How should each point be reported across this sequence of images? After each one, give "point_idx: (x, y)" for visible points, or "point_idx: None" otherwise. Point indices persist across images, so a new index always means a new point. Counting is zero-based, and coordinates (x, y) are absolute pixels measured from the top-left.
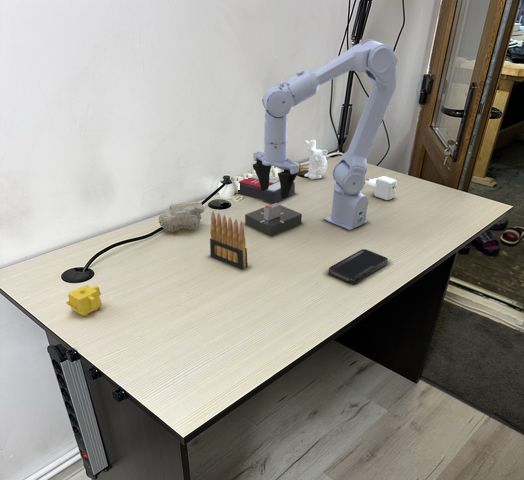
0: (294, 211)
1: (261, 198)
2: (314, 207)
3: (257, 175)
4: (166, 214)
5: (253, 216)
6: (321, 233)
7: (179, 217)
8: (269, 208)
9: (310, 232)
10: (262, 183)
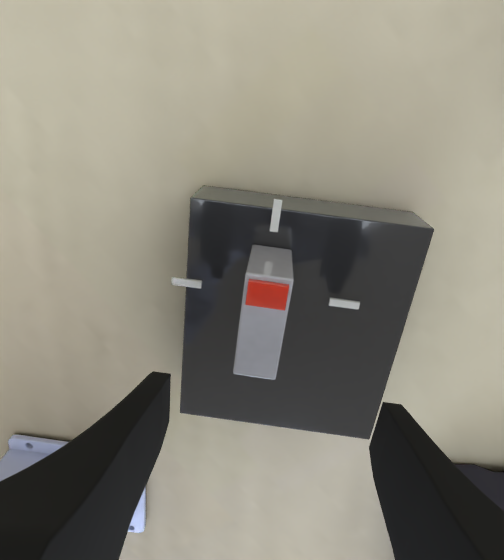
0: (225, 414)
1: (499, 472)
2: (254, 515)
3: (493, 506)
4: None
5: (369, 239)
6: (66, 356)
7: None
8: (247, 284)
9: (104, 337)
10: (404, 450)
